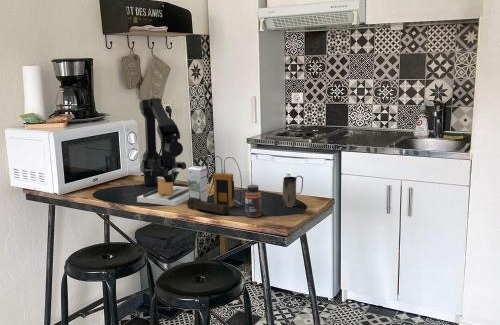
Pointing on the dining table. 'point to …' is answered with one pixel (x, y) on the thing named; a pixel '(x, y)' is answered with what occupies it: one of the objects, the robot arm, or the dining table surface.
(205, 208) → the hand tool
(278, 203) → the dining table surface
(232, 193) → the multimeter
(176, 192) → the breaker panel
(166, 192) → the lever
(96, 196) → the dining table surface
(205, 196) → the syrup box
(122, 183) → the dining table surface
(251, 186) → the supplement bottle
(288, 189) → the mug
